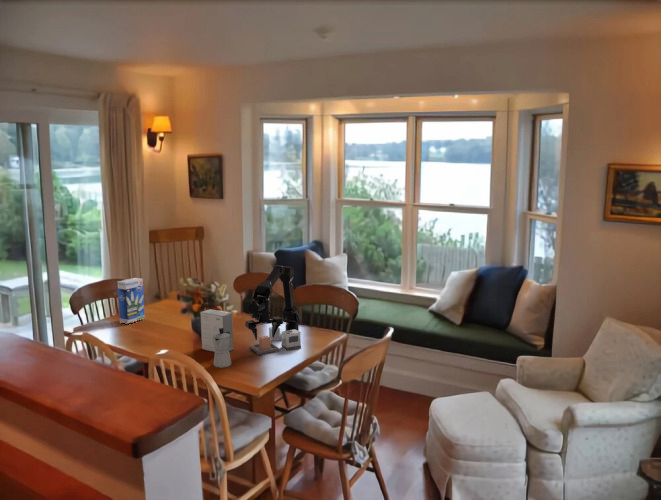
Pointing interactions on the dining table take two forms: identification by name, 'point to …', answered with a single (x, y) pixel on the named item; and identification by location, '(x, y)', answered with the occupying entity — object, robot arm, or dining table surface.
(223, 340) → the coffee maker
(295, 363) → the dining table surface
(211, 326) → the hard drive box
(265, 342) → the terracotta block
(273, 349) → the charcoal tray
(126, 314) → the string lights box
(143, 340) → the dining table surface
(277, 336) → the grey block
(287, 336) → the mounted unit
